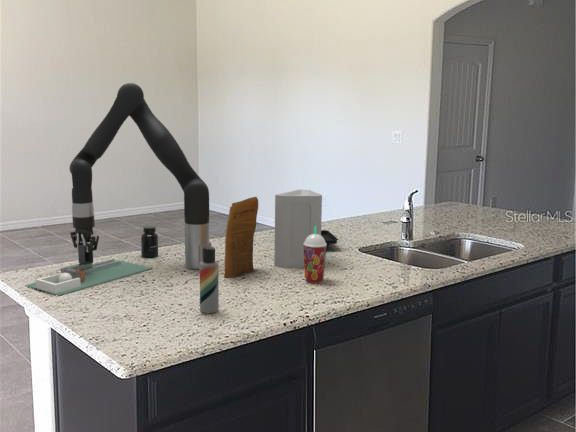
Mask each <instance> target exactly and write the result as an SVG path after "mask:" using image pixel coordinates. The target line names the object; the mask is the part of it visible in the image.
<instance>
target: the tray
mask: <svg viewBox="0 0 576 432" xmlns="http://www.w3.org/2000/svg"><path fill="white" fill-rule="evenodd" d="M321 236H322V237H323V238H324V240H325V242H326V243H327V245H326V247H327V246H330V245H335V244H337V243H338V241H339V239H338V237H337V236H335V235H334V234H333V233H331V232H330V231H329V230H322V229H321Z"/></svg>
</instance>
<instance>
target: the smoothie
mask: <svg viewBox="0 0 576 432" xmlns="http://www.w3.org/2000/svg"><path fill="white" fill-rule="evenodd" d="M326 245H327V243H326V242H325V240H324V238H323V237H322V236H321V235H319V234H316V226H314V234H311V235H309V236H308V237H307V238H306V239H305V241H304V243H303V247H304V269H303V270H304V271H303V272H304V278H305V281H306V282H307V283H310V284H319V283H322V282H323V279H324V275H325V266H326V254H327V246H326Z"/></svg>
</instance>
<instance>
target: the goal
mask: <svg viewBox="0 0 576 432" xmlns="http://www.w3.org/2000/svg"><path fill="white" fill-rule="evenodd" d="M58 273H59V274H56V273H54V274H55V275H52V274H50V275H51V276H50V275H49V276H45V277H41V278H36V279H35V282H36V288H38V289H41V290H44V291H48V292H51V293H54V294H57V293H60V292H64V291H67V290H71V289H74V288H78V287H81V284H80V278H75V279H72V280H68V281H64V282H60V283H59V280H58V279H59V276H60V275H61V274H62V273H60V272H58Z"/></svg>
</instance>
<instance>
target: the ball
mask: <svg viewBox="0 0 576 432" xmlns="http://www.w3.org/2000/svg"><path fill="white" fill-rule="evenodd" d="M58 280H59V283H60V282H64V281H68V280H72V276H71V275H70V274H69V273H62V274H61V275H60V276H59V279H58Z"/></svg>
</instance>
